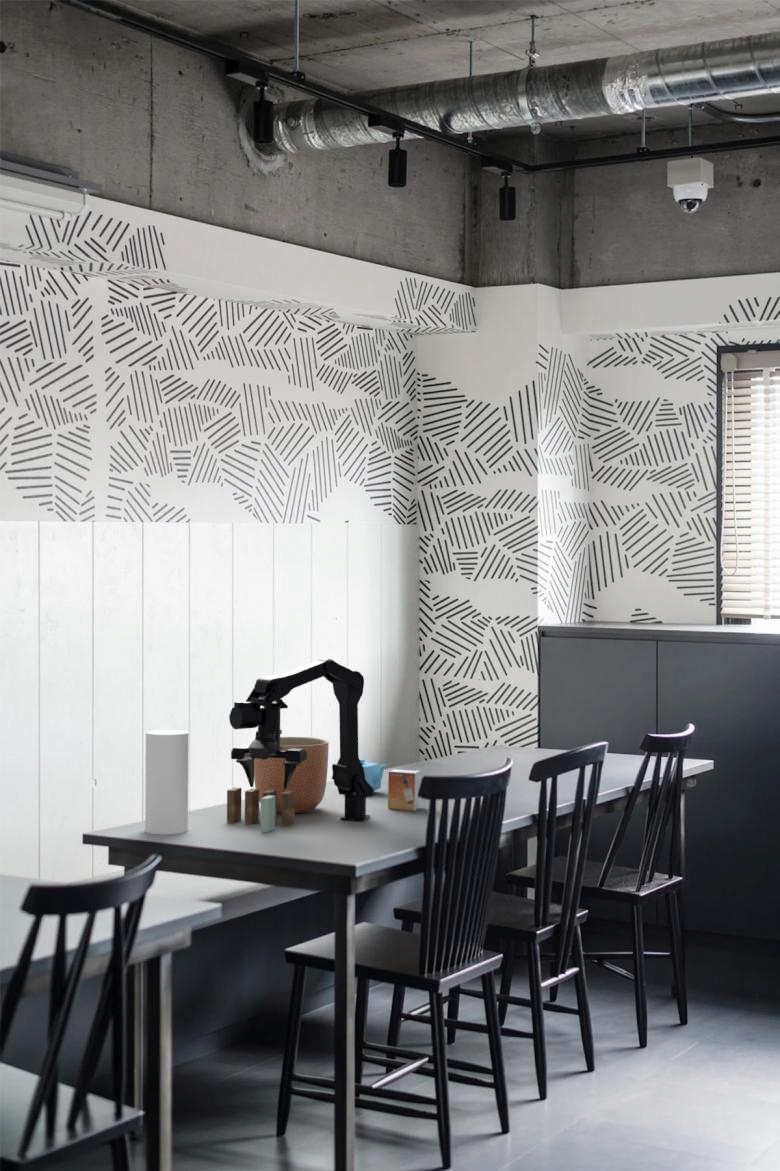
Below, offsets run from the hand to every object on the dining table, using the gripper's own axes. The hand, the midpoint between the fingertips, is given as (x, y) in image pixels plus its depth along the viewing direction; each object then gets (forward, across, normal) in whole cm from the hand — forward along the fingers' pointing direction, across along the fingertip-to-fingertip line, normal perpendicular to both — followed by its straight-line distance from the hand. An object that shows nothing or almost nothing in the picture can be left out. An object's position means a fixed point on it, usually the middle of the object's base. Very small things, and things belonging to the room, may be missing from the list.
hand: (268, 787), depth 364 cm
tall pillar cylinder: (+11, -24, -9) cm, 28 cm away
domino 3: (+11, -3, +9) cm, 14 cm away
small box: (+11, +24, +43) cm, 50 cm away
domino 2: (+11, -8, +9) cm, 16 cm away
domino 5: (+11, +2, +9) cm, 14 cm away
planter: (+11, -5, +30) cm, 32 cm away
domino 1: (+11, -13, +9) cm, 19 cm away
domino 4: (+11, 0, 0) cm, 11 cm away
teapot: (+11, +5, +65) cm, 66 cm away
